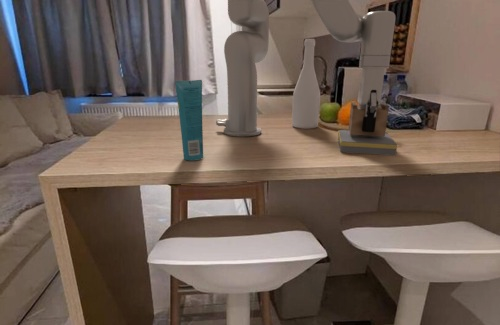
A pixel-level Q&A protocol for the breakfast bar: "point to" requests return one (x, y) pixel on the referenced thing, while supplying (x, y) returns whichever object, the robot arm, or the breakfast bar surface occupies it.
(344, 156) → the breakfast bar surface
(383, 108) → the brown open box
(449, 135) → the breakfast bar surface
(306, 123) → the wine bottle
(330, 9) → the robot arm
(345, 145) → the dock
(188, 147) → the tube
